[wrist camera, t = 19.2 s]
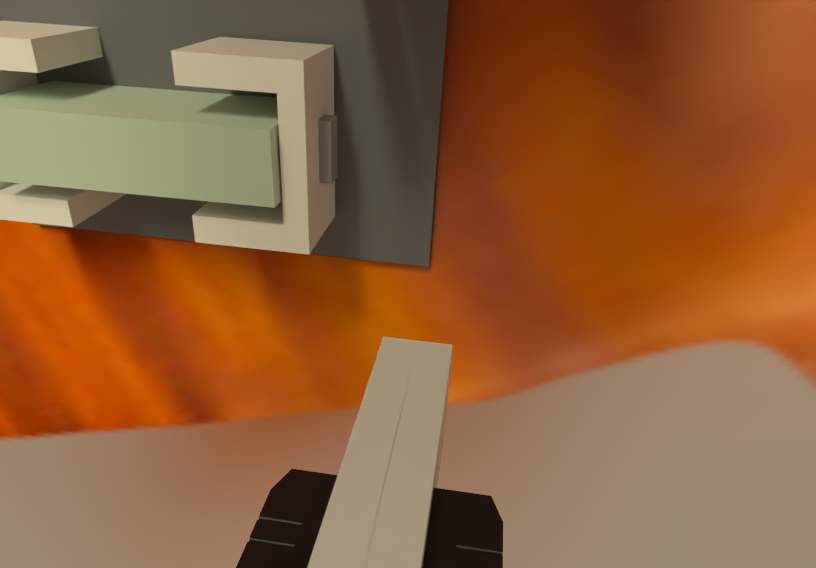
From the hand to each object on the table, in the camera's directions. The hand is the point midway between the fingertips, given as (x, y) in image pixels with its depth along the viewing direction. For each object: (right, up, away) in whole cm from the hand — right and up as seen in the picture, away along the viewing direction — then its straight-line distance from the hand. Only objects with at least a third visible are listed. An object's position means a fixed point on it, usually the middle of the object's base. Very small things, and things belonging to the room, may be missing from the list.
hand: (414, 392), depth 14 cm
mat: (-10, +11, +19) cm, 24 cm away
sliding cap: (-6, +10, +18) cm, 22 cm away
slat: (-12, +11, +19) cm, 25 cm away
